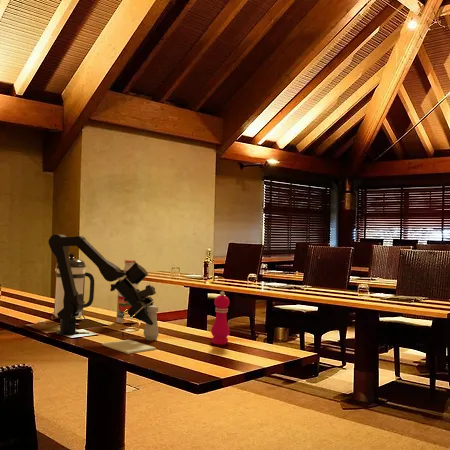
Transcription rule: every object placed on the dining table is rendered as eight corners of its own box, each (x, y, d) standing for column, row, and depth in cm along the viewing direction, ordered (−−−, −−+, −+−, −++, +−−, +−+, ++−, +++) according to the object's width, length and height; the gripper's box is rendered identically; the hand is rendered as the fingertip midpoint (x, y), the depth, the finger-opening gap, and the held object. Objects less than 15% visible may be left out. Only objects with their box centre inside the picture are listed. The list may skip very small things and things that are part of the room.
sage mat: (102, 344, 196) (102, 343, 196) (129, 341, 204) (129, 339, 204) (128, 353, 185) (128, 352, 185) (155, 349, 193) (155, 347, 193)
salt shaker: (140, 338, 210) (142, 305, 210) (152, 337, 214) (154, 304, 214) (148, 341, 206) (150, 307, 206) (161, 340, 209) (162, 306, 209)
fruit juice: (135, 320, 249) (139, 259, 249) (138, 324, 240) (142, 261, 240) (115, 320, 246) (118, 259, 246) (117, 324, 237) (120, 260, 237)
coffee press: (82, 324, 234) (86, 254, 234) (45, 321, 234) (49, 252, 234) (92, 317, 251) (96, 252, 251) (58, 315, 251) (62, 251, 252)
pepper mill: (232, 342, 212) (234, 291, 212) (224, 345, 205) (227, 293, 205) (215, 340, 215) (218, 289, 215) (207, 343, 208) (210, 291, 208)
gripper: (137, 280, 201) (165, 312, 200) (149, 276, 220) (174, 305, 219) (116, 300, 202) (143, 332, 201) (129, 294, 220) (154, 323, 219)
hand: (155, 322), depth 210 cm, fingers open, 9 cm apart
